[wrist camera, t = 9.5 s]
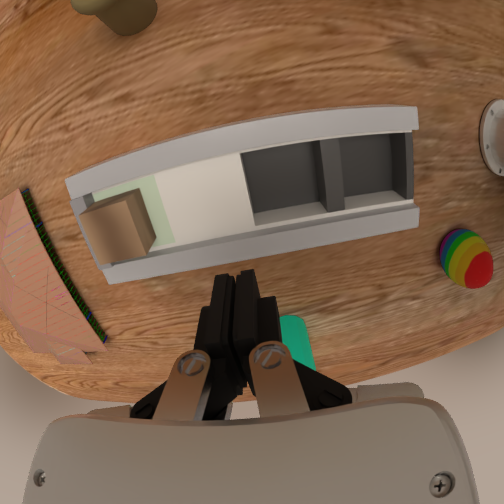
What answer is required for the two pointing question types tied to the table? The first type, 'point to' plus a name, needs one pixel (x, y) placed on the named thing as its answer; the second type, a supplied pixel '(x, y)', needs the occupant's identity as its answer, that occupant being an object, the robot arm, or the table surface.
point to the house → (39, 290)
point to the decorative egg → (466, 259)
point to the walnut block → (118, 227)
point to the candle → (297, 340)
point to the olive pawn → (120, 13)
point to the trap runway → (262, 187)
